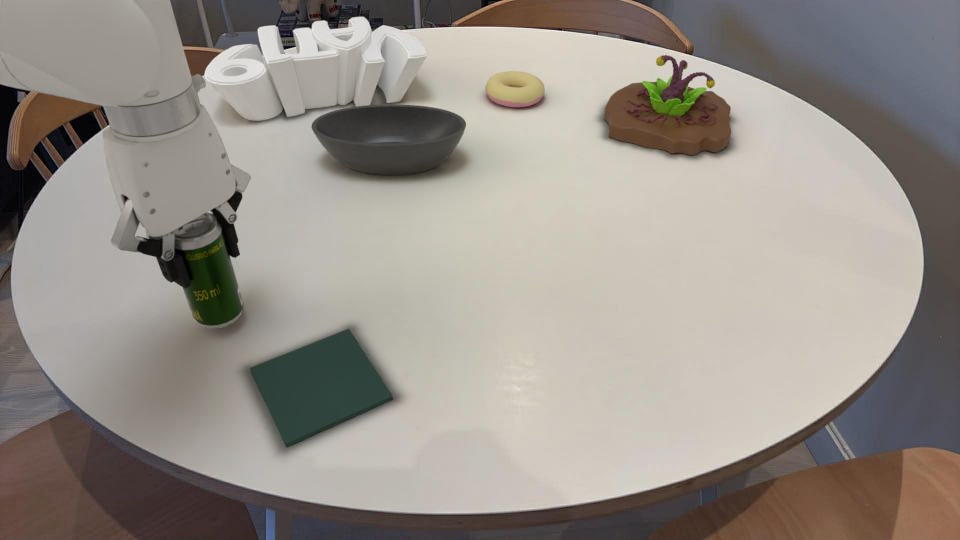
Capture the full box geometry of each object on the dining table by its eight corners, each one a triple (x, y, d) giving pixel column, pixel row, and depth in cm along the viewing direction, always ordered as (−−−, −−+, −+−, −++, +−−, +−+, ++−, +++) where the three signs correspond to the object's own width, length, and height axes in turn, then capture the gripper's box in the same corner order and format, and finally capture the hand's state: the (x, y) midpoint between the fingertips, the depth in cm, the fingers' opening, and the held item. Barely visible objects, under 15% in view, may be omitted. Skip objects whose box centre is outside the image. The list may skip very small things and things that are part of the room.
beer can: (235, 291, 80) (209, 203, 72) (252, 318, 76) (226, 229, 69) (188, 308, 77) (156, 220, 70) (202, 337, 74) (171, 248, 66)
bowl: (465, 184, 99) (464, 146, 95) (310, 183, 99) (303, 145, 95) (467, 141, 108) (467, 104, 104) (325, 140, 108) (320, 103, 104)
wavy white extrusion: (416, 67, 129) (413, 10, 122) (432, 108, 116) (429, 47, 110) (219, 87, 122) (204, 27, 116) (214, 132, 110) (197, 69, 103)
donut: (528, 125, 116) (550, 95, 122) (532, 103, 113) (554, 73, 118) (475, 104, 119) (499, 76, 124) (477, 82, 115) (501, 53, 120)
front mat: (286, 447, 65) (285, 444, 65) (250, 370, 72) (249, 367, 72) (393, 399, 69) (392, 395, 69) (349, 331, 77) (348, 328, 76)
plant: (613, 88, 122) (621, 25, 115) (728, 102, 118) (745, 37, 111) (596, 144, 107) (604, 75, 100) (727, 162, 103) (746, 92, 96)
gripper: (207, 63, 68) (247, 215, 80) (33, 132, 57) (108, 296, 69) (258, 83, 65) (292, 239, 76) (83, 161, 54) (153, 328, 66)
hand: (204, 265), depth 72 cm, fingers closed on beer can, 5 cm apart
